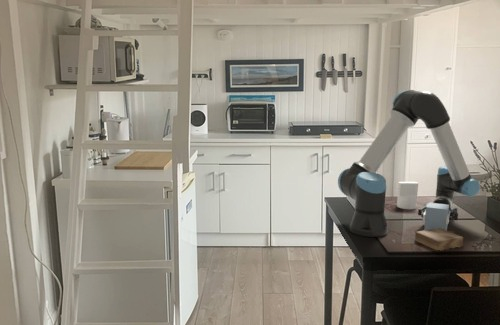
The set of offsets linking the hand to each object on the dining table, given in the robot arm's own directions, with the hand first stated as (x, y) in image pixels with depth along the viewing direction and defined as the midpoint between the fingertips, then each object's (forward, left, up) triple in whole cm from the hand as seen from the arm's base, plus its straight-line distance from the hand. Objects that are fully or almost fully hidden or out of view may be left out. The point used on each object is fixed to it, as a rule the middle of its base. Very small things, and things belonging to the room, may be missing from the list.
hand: (435, 219), depth 194 cm
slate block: (+4, +3, -7) cm, 8 cm away
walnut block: (-5, -8, -7) cm, 12 cm away
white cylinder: (+19, +38, -7) cm, 43 cm away
